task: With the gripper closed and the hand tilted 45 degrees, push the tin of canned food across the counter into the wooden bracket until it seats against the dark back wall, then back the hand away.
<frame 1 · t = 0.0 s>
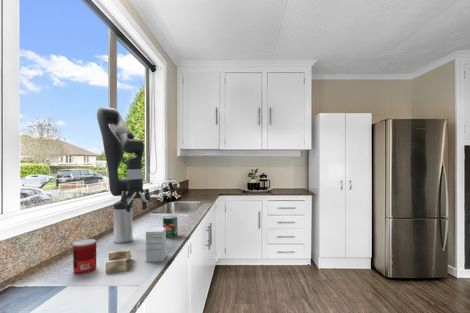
hand: (136, 210, 139), 17 cm above the counter, tool pointing down, fingers open, 8 cm apart
wooden bracket: (115, 266, 111), on the counter
supplement box: (156, 259, 119), on the counter
canned tomato: (170, 237, 153), on the counter
canned food: (85, 270, 108), on the counter
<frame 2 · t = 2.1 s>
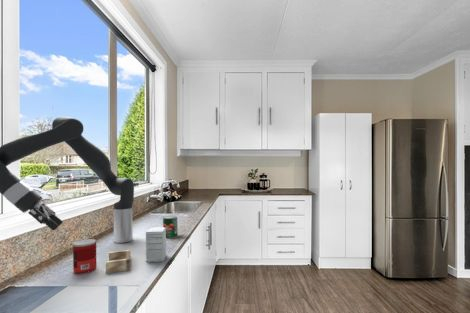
hand: (58, 226, 104), 18 cm above the counter, tool tilted 45°, fingers open, 8 cm apart
nothing on the counter moved.
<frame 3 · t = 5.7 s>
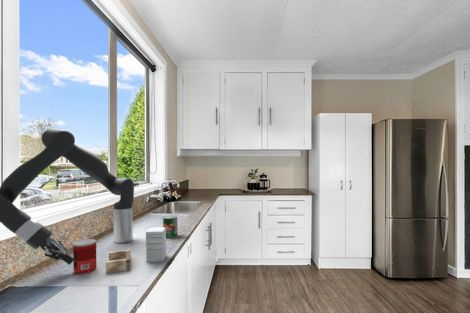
hand: (72, 261, 106), 4 cm above the counter, tool tilted 45°, fingers closed
canned food: (85, 270, 108), on the counter, touching gripper
everything else where it was.
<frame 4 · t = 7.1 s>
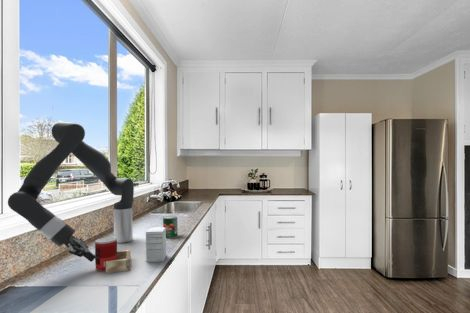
hand: (93, 259, 109), 4 cm above the counter, tool tilted 45°, fingers closed
canned food: (106, 267, 110), on the counter, touching gripper
everything else where it was.
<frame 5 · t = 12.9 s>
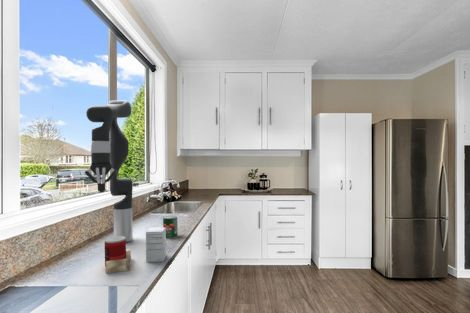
hand: (101, 192, 120), 29 cm above the counter, tool pointing down, fingers closed
canned food: (115, 266, 111), on the counter
everything else where it was.
at the end: canned food 0.1 cm from the wooden bracket (horizontally); canned food tilted 0° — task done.
